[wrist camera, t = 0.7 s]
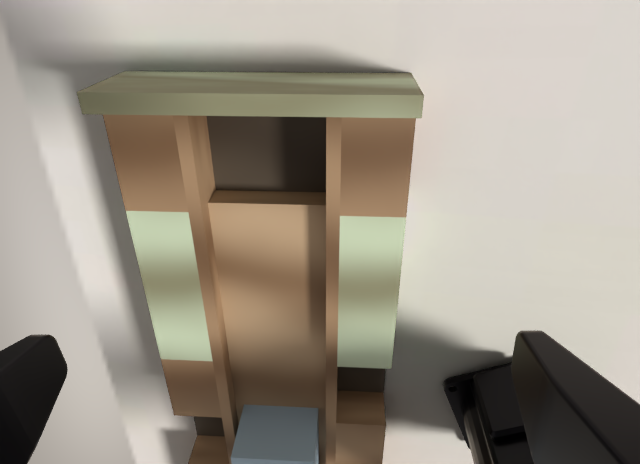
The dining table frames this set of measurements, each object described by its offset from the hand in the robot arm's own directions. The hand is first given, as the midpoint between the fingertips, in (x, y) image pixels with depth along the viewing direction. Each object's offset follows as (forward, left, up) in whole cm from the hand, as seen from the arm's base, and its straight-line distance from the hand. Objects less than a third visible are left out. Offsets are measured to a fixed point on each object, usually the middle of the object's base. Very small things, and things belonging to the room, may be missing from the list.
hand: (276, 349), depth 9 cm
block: (-17, +10, -12) cm, 23 cm away
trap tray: (-10, +7, -14) cm, 19 cm away
